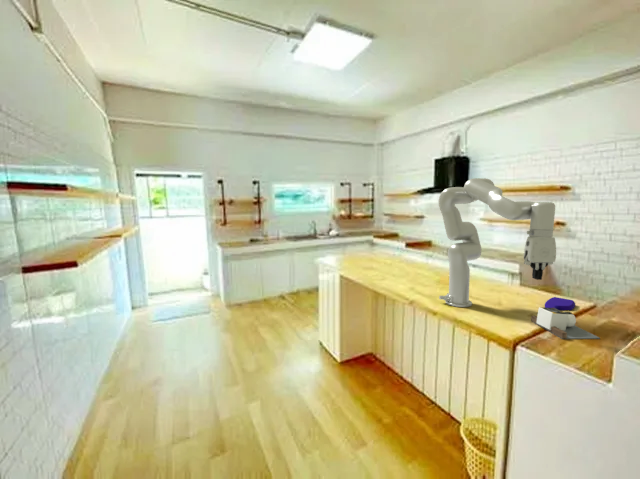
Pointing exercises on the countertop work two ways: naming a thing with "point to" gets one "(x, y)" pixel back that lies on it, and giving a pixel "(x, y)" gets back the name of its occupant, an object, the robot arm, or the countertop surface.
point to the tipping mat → (568, 332)
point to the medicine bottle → (555, 318)
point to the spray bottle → (560, 303)
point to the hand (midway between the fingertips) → (536, 278)
